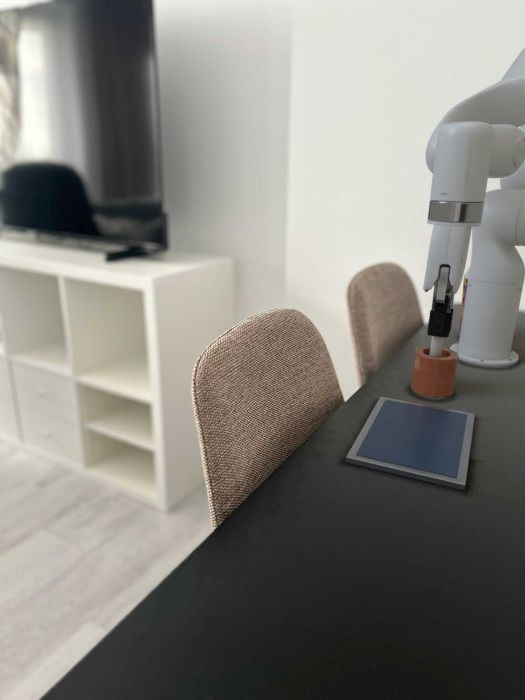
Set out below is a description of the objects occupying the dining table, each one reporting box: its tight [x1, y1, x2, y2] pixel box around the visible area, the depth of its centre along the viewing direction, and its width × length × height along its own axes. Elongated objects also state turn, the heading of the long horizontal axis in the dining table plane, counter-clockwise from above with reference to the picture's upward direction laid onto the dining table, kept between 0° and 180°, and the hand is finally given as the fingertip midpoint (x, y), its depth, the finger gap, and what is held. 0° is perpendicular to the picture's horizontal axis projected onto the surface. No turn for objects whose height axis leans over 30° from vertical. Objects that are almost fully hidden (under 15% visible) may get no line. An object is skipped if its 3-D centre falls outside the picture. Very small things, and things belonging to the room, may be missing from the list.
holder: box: [410, 345, 459, 398], centre depth 83 cm, size 7×7×7 cm
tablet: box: [345, 396, 476, 491], centre depth 70 cm, size 20×14×1 cm
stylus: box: [429, 336, 445, 357], centre depth 82 cm, size 2×2×14 cm
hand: (438, 333), depth 81 cm, fingers closed on stylus, 1 cm apart
